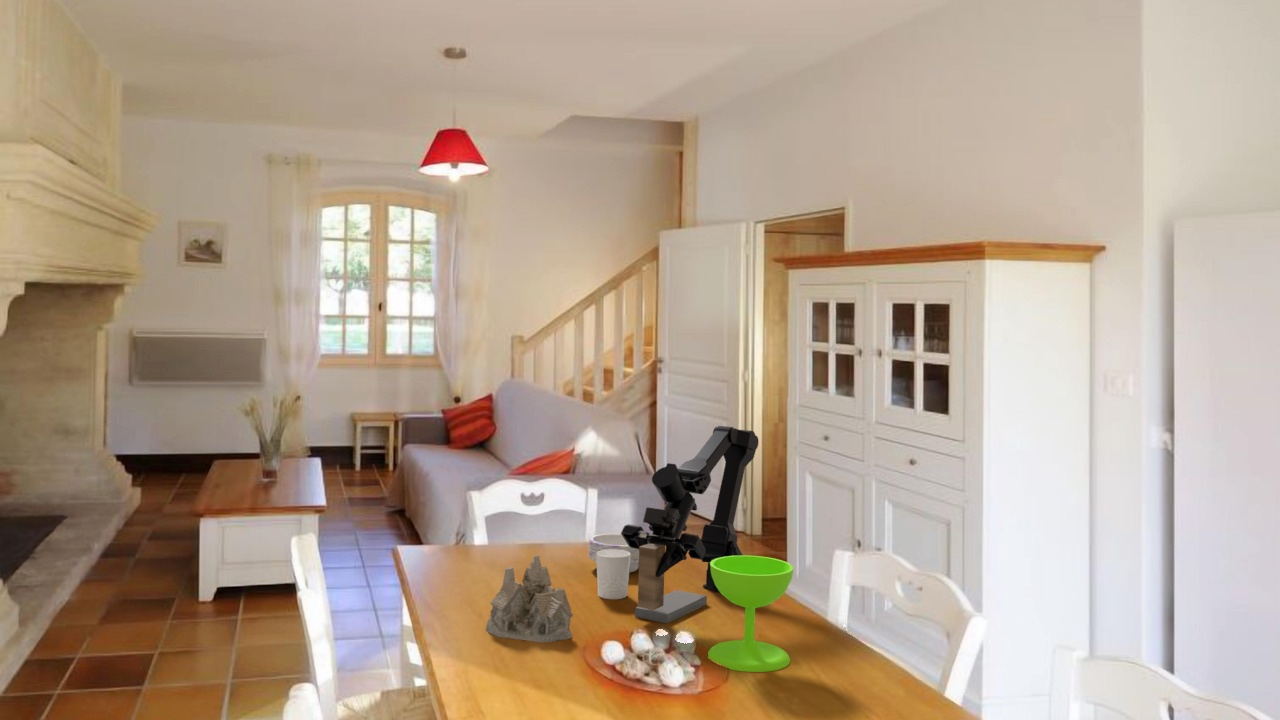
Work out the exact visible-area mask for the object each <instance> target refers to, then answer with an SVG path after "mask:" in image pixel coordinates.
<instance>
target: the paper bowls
mask: <svg viewBox="0 0 1280 720" xmlns="http://www.w3.org/2000/svg"><path fill="white" fill-rule="evenodd" d="M588 541H589V542H588V544H589V545H588V558H589V559H590V560H592V561H595V564H596V566H597V552H598V551H601V550H609V549H615V550H624V551H628V552H630V554H631V555H630V569H629V574H631V573H633V572H634V573H635V572H636V571H638V565H639V549H635V548H631V547H629V545H628V544H627V542H626V541H625V539H624V538H623V536H622V534H621V533H603V534H596V535H593V536H591V537H590V538H589V539H588Z"/></svg>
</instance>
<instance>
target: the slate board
mask: <svg viewBox="0 0 1280 720" xmlns="http://www.w3.org/2000/svg"><path fill="white" fill-rule="evenodd" d="M707 599H708V596H707V595H706V594H699V593H694V592H689V591H684V590H680V589H679V590H677V589H675V590H673V591H671V592H669V593H665V594H664V603H663V606H662V607H659V608H657V609H655V610H651V609H646V608H641V607H638V606H636V607H635V610H634V611H635V612H634V616H635V618H640V619H645V620H649V621H654V622H658V623H664V624H669V623H671V622H673V621H676V620H677V619H679V618H681V617H683V616H686V615H688V614H691V612H694V611H696V610H698V609H700V608H703V607H705V606H706V605H707V603H708V602H707V601H708V600H707Z"/></svg>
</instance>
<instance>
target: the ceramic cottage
mask: <svg viewBox="0 0 1280 720" xmlns="http://www.w3.org/2000/svg"><path fill="white" fill-rule="evenodd" d="M529 565H530V567H526V568H525V571H524V573H523V577H522V581H521V582H522V583H521V582H517V580H516V579H515V577H516V576H515V569H514V567H509V566H508V567H506V568H505V570H504V576H503V581H502V585H501V587H500V589H499V590H498V592H497V593H496V595H495V596H494V597H493V598H492V600H491V601H490V602H489V604H490V605H491V606H492V608H491V609H490V617H489V619H488V620H487V621H486V622H487V623H486V629H485V631H486V632H487V633H488V634H490V635H492V636H495V637H498V638H504V639H512V640H520V641H522V640H524V641H528V642H536V643H554V642H558V641H565V640H569V639H572V637H573V634H572V633H573V632H572V631H571V630H570V624H571V618H572V617H573V616H574V614H573V612H572V608H571V605H570V602H569V600H568V597H567V592H566V590H565V589H562V587H557V588H556V590H555V588H554V587H552V580H551V576H550V574H549V571H548V567H547V565H546V566H542V563H541V560H540V556H539V555H536V554H535V555H533V560H531V561H530V564H529Z"/></svg>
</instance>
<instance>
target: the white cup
mask: <svg viewBox="0 0 1280 720" xmlns="http://www.w3.org/2000/svg"><path fill="white" fill-rule="evenodd" d="M630 555H631V554H630V552H628V551H624V550H615V549H609V550H601V551H598V552H597V565H596V577H597V578H596V581H597V582H596V583H597V596H598V597H599V598H602V599H606V600H621V599H625V598H626V597H627V596H628V588H629V587H628V585H629V577H630V573H629V569H630Z"/></svg>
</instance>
